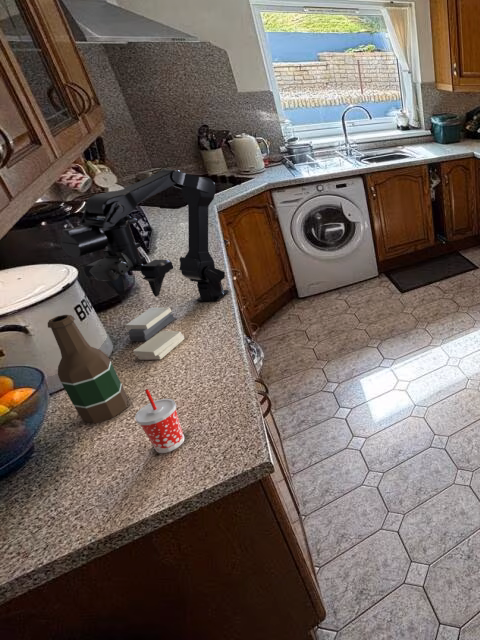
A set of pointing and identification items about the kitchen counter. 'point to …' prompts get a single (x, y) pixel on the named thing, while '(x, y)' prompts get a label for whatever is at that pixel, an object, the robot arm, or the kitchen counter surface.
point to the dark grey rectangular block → (150, 329)
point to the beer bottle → (87, 374)
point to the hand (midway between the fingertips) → (139, 295)
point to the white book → (148, 318)
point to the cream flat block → (159, 345)
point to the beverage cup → (161, 424)
